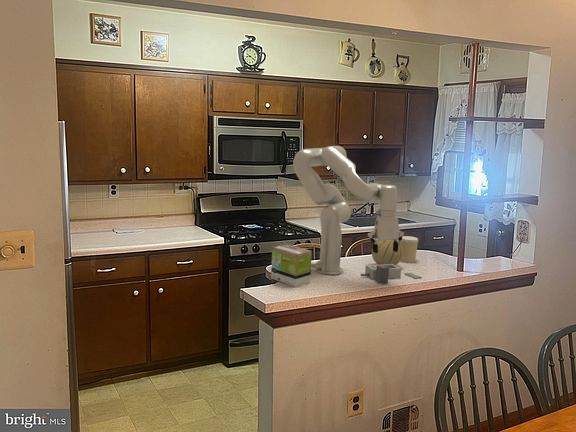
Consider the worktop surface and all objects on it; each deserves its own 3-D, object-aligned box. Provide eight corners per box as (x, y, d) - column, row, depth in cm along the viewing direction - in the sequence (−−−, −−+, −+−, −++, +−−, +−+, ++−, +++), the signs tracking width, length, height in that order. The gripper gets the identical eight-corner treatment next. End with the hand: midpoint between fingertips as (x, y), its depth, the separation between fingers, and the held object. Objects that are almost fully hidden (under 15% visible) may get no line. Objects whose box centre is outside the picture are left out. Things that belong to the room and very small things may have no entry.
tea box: (270, 279, 236) (271, 246, 234) (285, 275, 244) (287, 243, 241) (295, 287, 226) (297, 253, 224) (311, 283, 234) (312, 249, 231)
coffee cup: (419, 260, 280) (421, 237, 278) (413, 264, 272) (414, 240, 270) (401, 257, 285) (403, 235, 283) (395, 260, 277) (397, 238, 275)
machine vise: (364, 280, 241) (365, 269, 240) (357, 275, 248) (357, 264, 247) (400, 278, 246) (401, 267, 245) (392, 273, 254) (392, 262, 253)
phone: (414, 280, 246) (414, 278, 246) (403, 275, 253) (403, 273, 253) (421, 279, 248) (421, 277, 248) (410, 274, 255) (410, 272, 255)
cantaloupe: (364, 265, 266) (366, 235, 264) (385, 261, 275) (387, 232, 272) (386, 272, 255) (389, 241, 252) (407, 268, 263) (409, 238, 261)
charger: (379, 283, 237) (380, 268, 235) (375, 281, 240) (376, 265, 239) (387, 283, 238) (389, 267, 237) (383, 280, 242) (384, 265, 240)
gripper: (372, 215, 227) (371, 255, 230) (409, 214, 233) (407, 252, 235) (365, 212, 234) (363, 251, 237) (400, 211, 240) (398, 249, 242)
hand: (385, 252), depth 236 cm, fingers open, 9 cm apart
